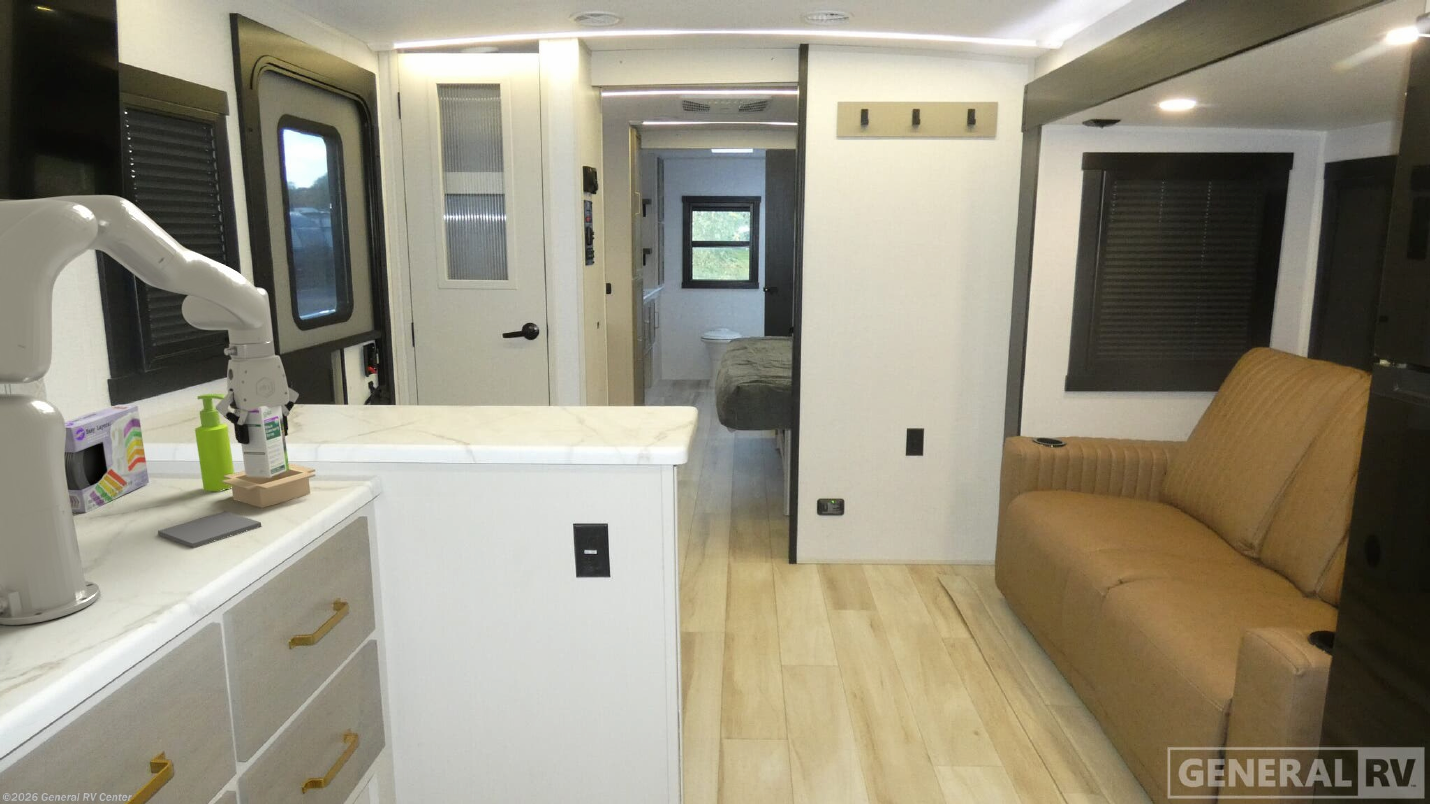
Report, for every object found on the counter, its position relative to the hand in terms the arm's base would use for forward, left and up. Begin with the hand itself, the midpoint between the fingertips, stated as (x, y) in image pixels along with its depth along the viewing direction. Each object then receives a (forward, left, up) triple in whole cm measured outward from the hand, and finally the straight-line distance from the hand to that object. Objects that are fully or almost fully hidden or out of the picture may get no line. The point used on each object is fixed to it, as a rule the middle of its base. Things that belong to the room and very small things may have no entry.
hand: (263, 438), depth 170 cm
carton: (0, 0, -12) cm, 12 cm away
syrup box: (0, 0, -8) cm, 8 cm away
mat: (-17, -9, -12) cm, 22 cm away
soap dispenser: (-2, +15, -12) cm, 20 cm away
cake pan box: (-18, +28, -13) cm, 36 cm away
